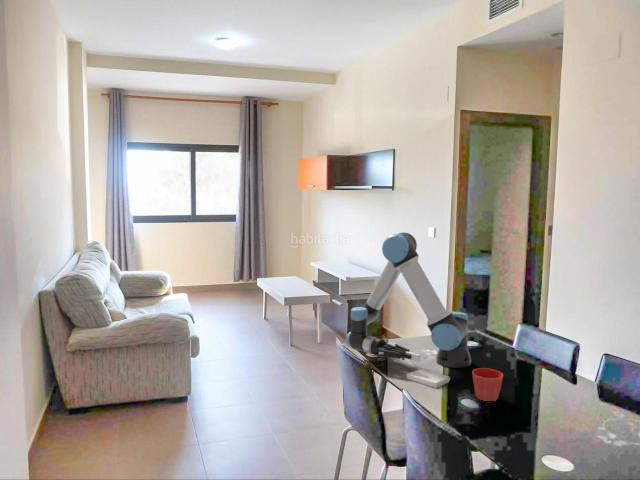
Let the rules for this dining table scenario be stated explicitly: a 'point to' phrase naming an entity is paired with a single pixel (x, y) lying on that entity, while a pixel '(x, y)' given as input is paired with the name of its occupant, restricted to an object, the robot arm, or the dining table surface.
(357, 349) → the robot arm
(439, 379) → the tile
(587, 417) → the dining table surface
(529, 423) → the dining table surface
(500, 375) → the flower pot
